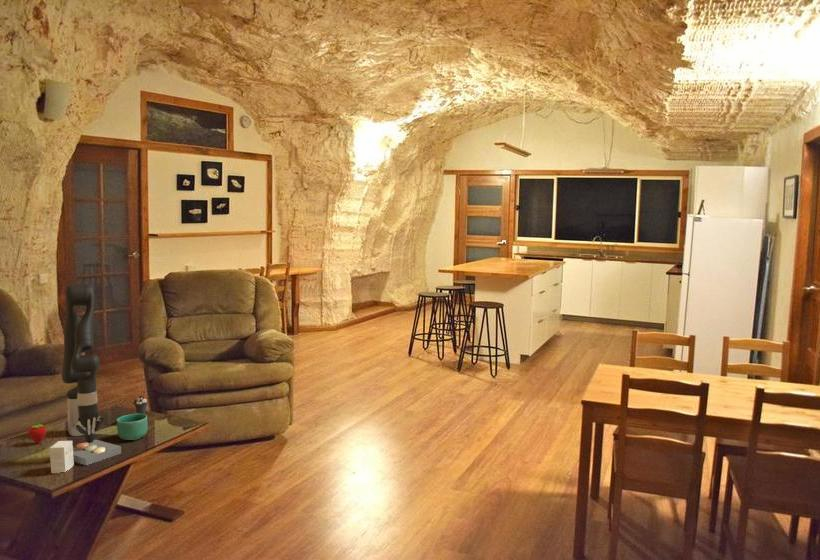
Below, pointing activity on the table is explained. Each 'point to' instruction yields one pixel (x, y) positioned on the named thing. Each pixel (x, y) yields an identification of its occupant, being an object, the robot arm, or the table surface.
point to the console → (90, 457)
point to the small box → (61, 456)
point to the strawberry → (37, 433)
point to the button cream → (99, 450)
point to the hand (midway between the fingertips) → (90, 442)
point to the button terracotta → (82, 445)
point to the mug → (132, 426)
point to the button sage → (90, 447)
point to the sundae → (140, 404)
